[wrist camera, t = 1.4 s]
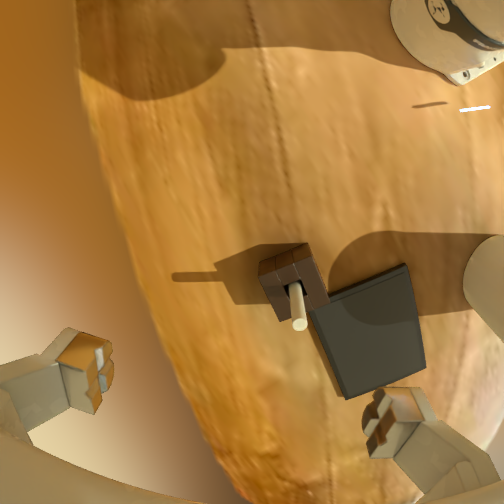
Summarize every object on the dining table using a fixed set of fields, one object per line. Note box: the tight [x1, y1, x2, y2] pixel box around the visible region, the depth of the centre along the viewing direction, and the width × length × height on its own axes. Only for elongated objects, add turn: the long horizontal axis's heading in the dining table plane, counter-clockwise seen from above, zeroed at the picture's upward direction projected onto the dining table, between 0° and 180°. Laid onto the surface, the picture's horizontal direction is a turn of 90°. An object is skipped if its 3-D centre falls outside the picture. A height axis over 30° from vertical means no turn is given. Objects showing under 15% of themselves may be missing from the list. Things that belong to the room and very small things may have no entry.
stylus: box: [288, 280, 307, 331], centre depth 39 cm, size 2×2×13 cm
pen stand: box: [258, 243, 330, 322], centre depth 43 cm, size 7×7×5 cm
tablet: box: [309, 263, 426, 400], centre depth 48 cm, size 16×22×1 cm
